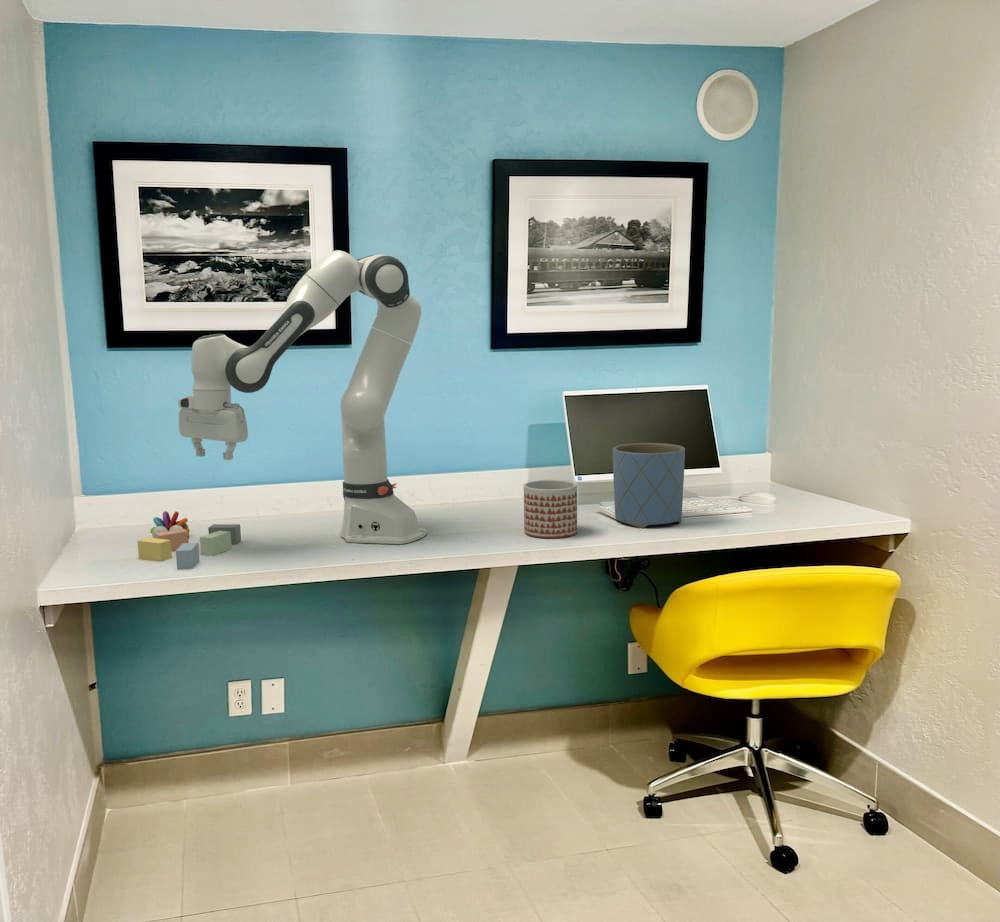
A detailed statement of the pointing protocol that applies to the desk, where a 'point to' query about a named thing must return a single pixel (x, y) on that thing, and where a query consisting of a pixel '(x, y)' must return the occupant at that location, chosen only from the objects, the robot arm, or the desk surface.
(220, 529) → the charcoal brick
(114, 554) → the desk surface
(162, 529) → the multicolored fanned-prong toy
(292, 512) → the desk surface
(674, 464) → the planter
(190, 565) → the slate brick
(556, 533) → the vase
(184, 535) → the terracotta brick
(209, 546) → the sage brick
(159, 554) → the ochre brick
